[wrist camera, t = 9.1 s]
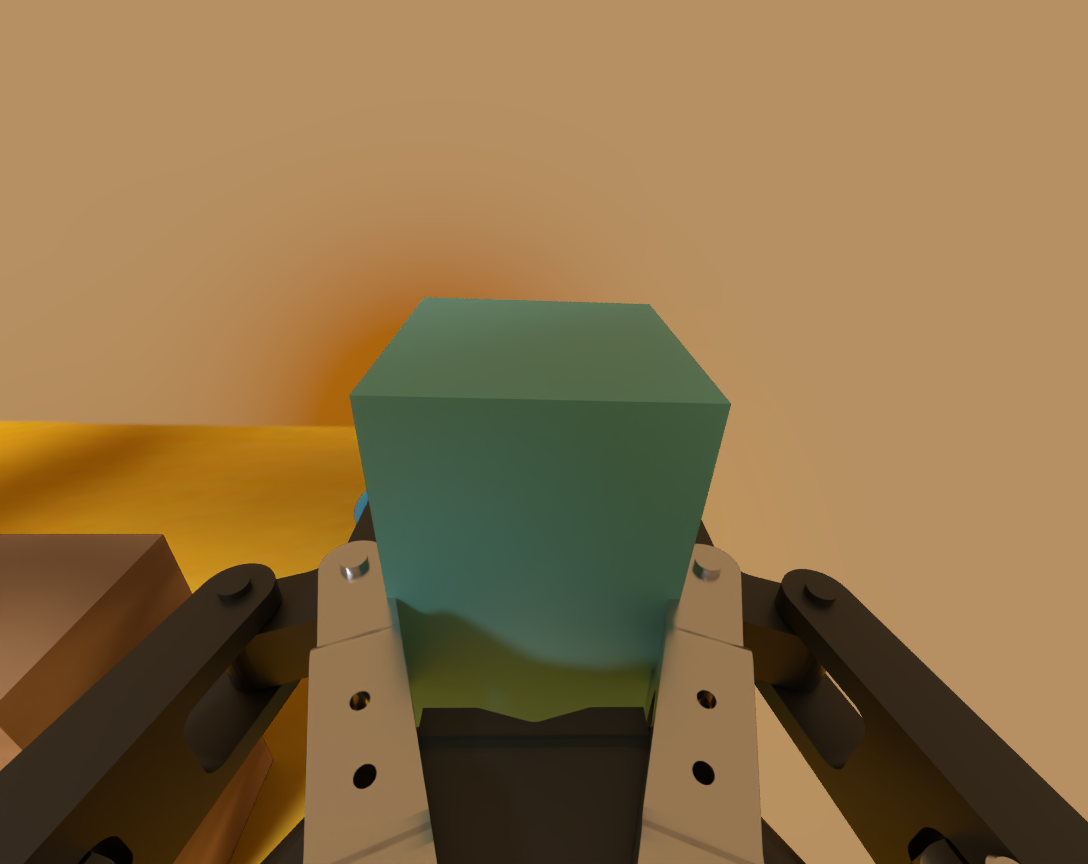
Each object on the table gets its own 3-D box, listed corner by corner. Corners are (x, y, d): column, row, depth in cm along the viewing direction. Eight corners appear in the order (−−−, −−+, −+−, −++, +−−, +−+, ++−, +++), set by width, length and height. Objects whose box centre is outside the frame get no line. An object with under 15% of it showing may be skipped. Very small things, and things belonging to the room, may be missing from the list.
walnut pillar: (198, 932, 15) (-14, 713, 9) (34, 937, 15) (-292, 717, 9) (273, 759, 19) (163, 533, 13) (147, 761, 19) (-22, 534, 13)
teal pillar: (623, 820, 12) (731, 404, 6) (427, 823, 12) (349, 395, 6) (598, 647, 17) (649, 304, 11) (454, 647, 16) (424, 297, 10)
